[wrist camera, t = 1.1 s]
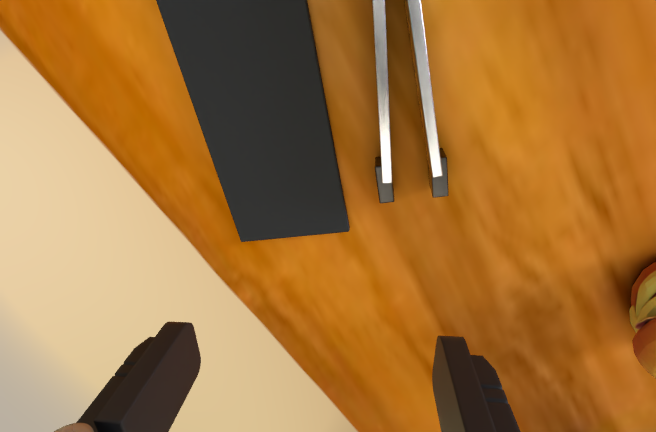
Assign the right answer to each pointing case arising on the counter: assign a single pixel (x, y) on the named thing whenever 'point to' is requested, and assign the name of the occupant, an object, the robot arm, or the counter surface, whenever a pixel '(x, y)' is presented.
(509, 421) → the robot arm
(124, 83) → the counter surface
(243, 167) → the mat
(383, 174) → the tongs
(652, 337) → the cheeseburger
